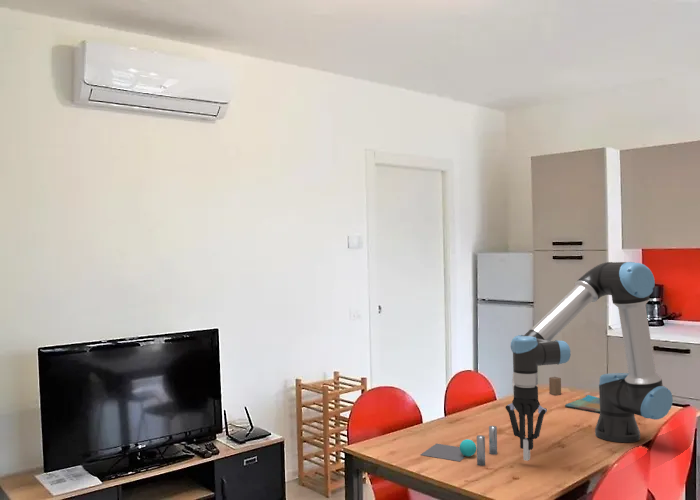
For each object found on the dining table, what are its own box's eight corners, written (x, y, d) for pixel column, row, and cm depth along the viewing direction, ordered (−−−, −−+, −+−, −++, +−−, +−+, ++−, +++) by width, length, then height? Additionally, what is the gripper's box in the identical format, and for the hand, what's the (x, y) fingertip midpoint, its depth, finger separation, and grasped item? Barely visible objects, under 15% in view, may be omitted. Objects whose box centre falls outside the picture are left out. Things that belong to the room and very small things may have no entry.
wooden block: (555, 393, 297) (554, 376, 297) (561, 394, 294) (561, 377, 294) (549, 394, 295) (548, 377, 295) (555, 395, 292) (555, 378, 292)
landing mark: (474, 449, 212) (474, 449, 212) (459, 461, 200) (459, 461, 200) (436, 444, 219) (436, 443, 219) (420, 455, 207) (420, 454, 207)
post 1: (486, 463, 198) (485, 435, 198) (483, 466, 196) (483, 438, 196) (478, 462, 199) (478, 434, 199) (475, 465, 197) (475, 436, 197)
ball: (477, 437, 207) (462, 436, 210) (472, 442, 202) (456, 441, 205) (478, 454, 207) (463, 452, 210) (474, 459, 202) (458, 457, 205)
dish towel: (624, 405, 274) (624, 399, 274) (602, 415, 257) (602, 409, 257) (587, 399, 286) (586, 394, 286) (563, 408, 269) (563, 403, 269)
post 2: (498, 452, 209) (497, 426, 209) (495, 455, 206) (495, 428, 206) (490, 451, 210) (490, 425, 210) (488, 453, 208) (487, 427, 208)
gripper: (549, 384, 196) (550, 458, 196) (508, 381, 203) (510, 452, 203) (543, 389, 190) (545, 466, 190) (502, 385, 196) (503, 459, 196)
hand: (526, 459), depth 196 cm, fingers closed
